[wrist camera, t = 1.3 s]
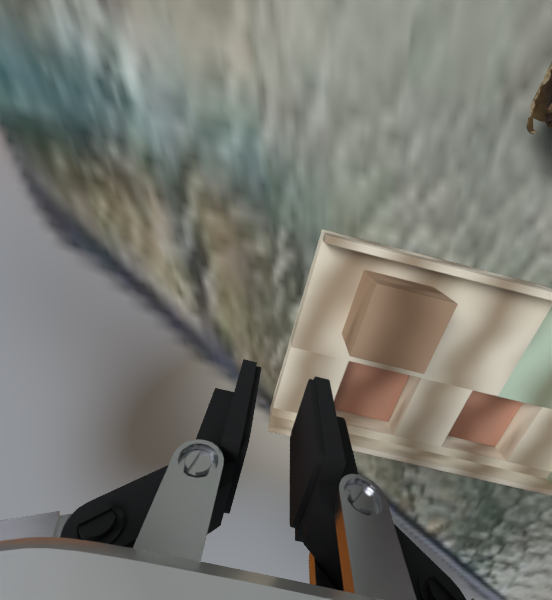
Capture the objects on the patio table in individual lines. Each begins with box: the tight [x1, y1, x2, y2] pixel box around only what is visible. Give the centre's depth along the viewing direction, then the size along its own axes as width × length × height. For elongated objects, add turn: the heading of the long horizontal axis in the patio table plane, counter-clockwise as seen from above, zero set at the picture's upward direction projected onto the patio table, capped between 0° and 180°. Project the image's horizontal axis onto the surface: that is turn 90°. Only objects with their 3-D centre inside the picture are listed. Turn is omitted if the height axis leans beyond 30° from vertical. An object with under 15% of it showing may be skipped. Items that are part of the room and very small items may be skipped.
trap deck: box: [268, 229, 552, 496], centre depth 29 cm, size 30×19×4 cm, turn 76°
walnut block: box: [342, 270, 458, 374], centre depth 25 cm, size 6×6×4 cm
